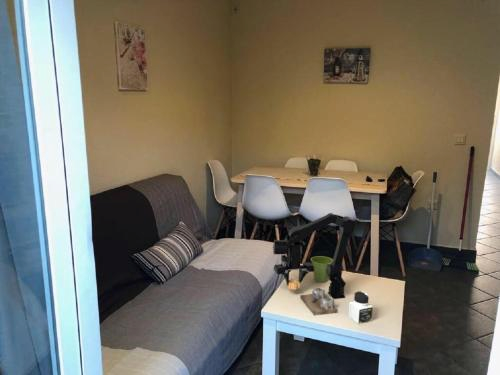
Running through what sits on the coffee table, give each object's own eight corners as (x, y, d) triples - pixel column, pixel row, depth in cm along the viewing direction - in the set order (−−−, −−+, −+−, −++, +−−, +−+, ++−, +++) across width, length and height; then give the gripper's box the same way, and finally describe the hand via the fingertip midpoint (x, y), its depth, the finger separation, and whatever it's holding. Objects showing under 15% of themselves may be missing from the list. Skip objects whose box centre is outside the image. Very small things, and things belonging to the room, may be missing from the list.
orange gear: (296, 284, 200) (296, 278, 200) (301, 289, 195) (301, 283, 194) (285, 285, 199) (285, 279, 199) (289, 290, 193) (290, 284, 193)
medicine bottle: (358, 324, 172) (360, 298, 170) (348, 316, 179) (349, 291, 177) (371, 321, 175) (374, 295, 173) (361, 313, 182) (363, 288, 179)
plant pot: (329, 275, 223) (330, 255, 221) (334, 284, 212) (335, 264, 209) (307, 275, 223) (308, 255, 220) (312, 284, 211) (313, 264, 209)
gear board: (321, 295, 198) (322, 285, 197) (336, 312, 182) (337, 301, 181) (300, 298, 196) (300, 287, 194) (313, 315, 179) (314, 303, 178)
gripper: (306, 247, 204) (305, 276, 207) (271, 249, 199) (270, 279, 202) (315, 255, 193) (313, 285, 196) (278, 257, 189) (276, 289, 192)
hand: (293, 284), depth 197 cm, fingers closed on orange gear, 5 cm apart
